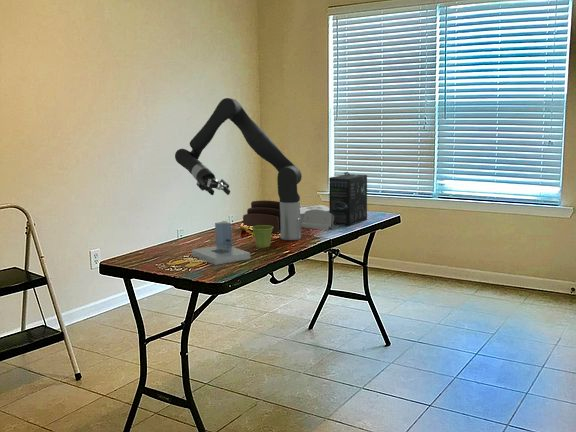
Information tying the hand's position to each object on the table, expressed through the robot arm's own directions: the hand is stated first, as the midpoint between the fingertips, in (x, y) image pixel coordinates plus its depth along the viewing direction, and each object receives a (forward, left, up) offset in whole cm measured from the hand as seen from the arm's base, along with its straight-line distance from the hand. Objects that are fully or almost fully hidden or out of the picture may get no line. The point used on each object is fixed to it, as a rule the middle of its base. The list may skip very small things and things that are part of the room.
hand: (221, 193), depth 279 cm
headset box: (-51, -59, -23) cm, 81 cm away
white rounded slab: (-26, -68, -24) cm, 76 cm away
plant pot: (-19, +3, -23) cm, 30 cm away
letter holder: (-12, -35, -23) cm, 44 cm away
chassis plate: (-6, +24, -23) cm, 34 cm away
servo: (-3, +8, -23) cm, 24 cm away
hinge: (-37, -43, -23) cm, 61 cm away
